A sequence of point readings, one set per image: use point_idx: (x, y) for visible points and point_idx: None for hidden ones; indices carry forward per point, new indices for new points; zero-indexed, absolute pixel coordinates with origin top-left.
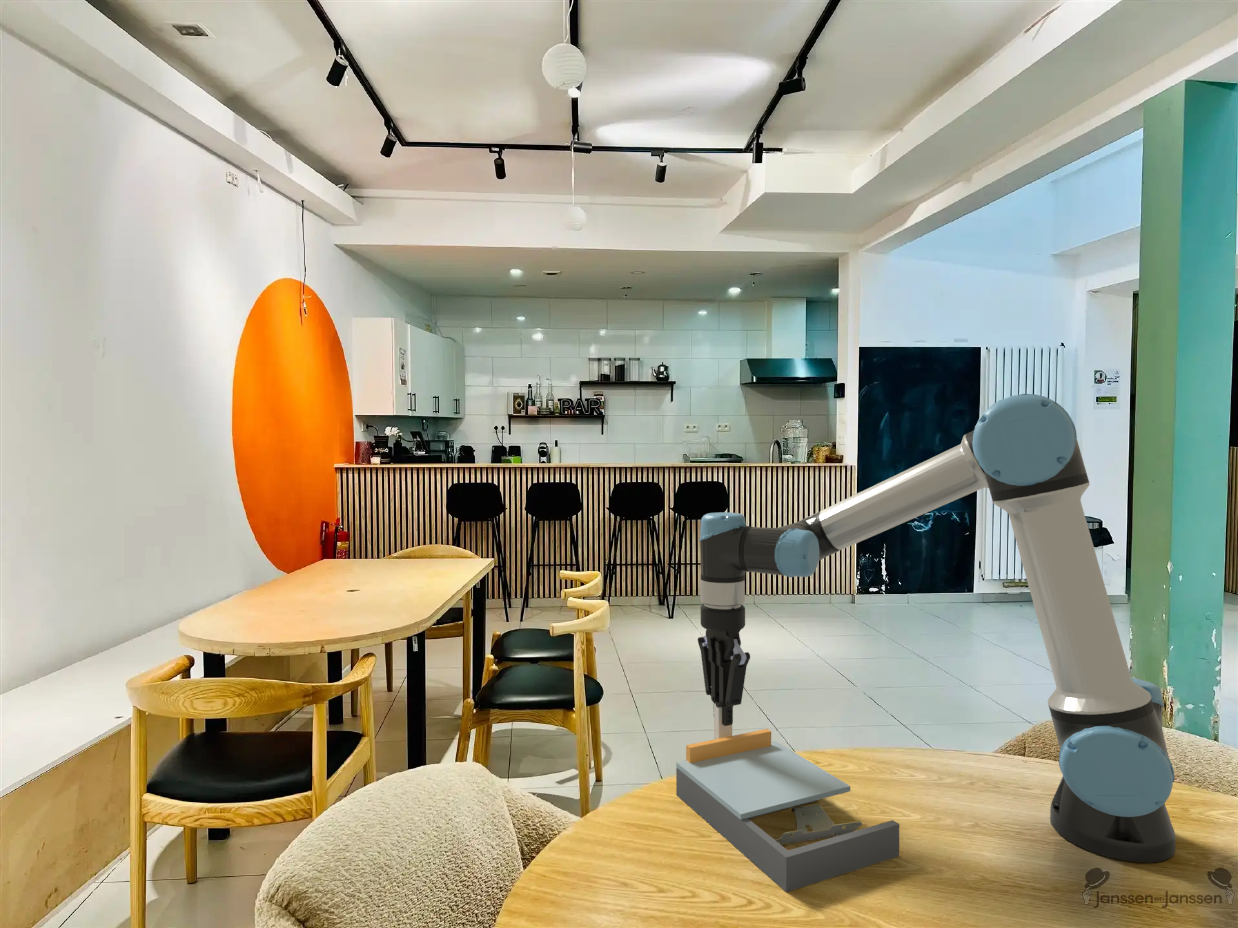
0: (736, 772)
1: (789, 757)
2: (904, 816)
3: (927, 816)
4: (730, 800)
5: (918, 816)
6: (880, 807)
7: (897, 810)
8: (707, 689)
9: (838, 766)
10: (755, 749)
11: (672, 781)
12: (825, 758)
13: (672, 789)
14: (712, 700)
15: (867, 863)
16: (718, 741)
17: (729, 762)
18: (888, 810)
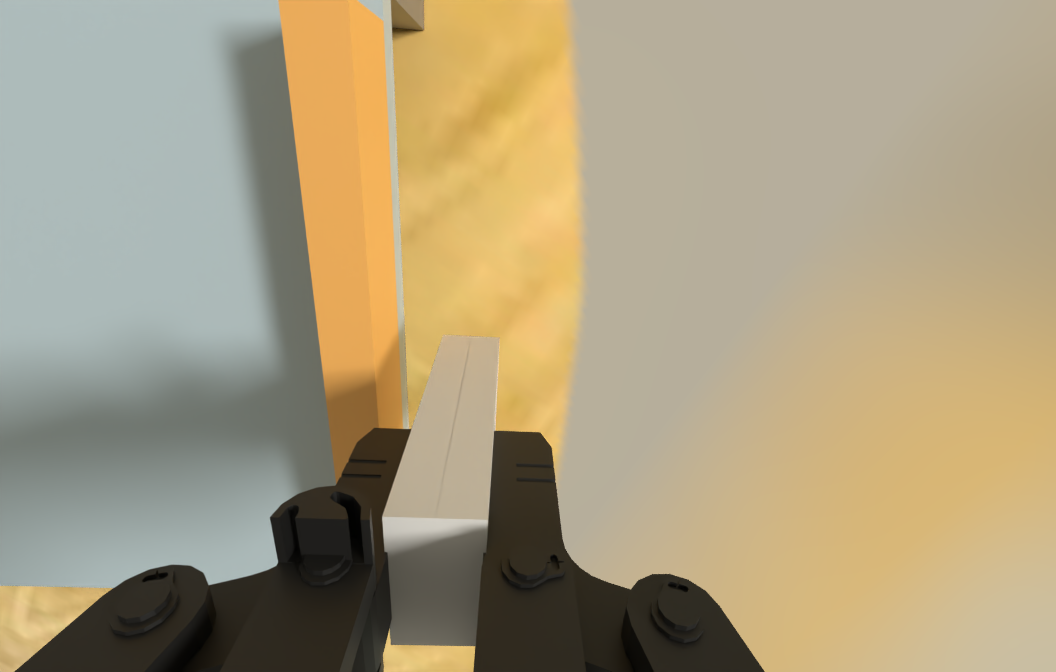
0: (104, 226)
1: (222, 548)
2: (28, 608)
3: (19, 648)
4: None
5: (23, 633)
6: (95, 592)
7: (68, 614)
8: (684, 644)
9: None
10: None
11: (562, 59)
12: (446, 652)
13: (486, 3)
14: (539, 544)
15: None
16: (324, 294)
17: (253, 271)
18: (72, 598)
